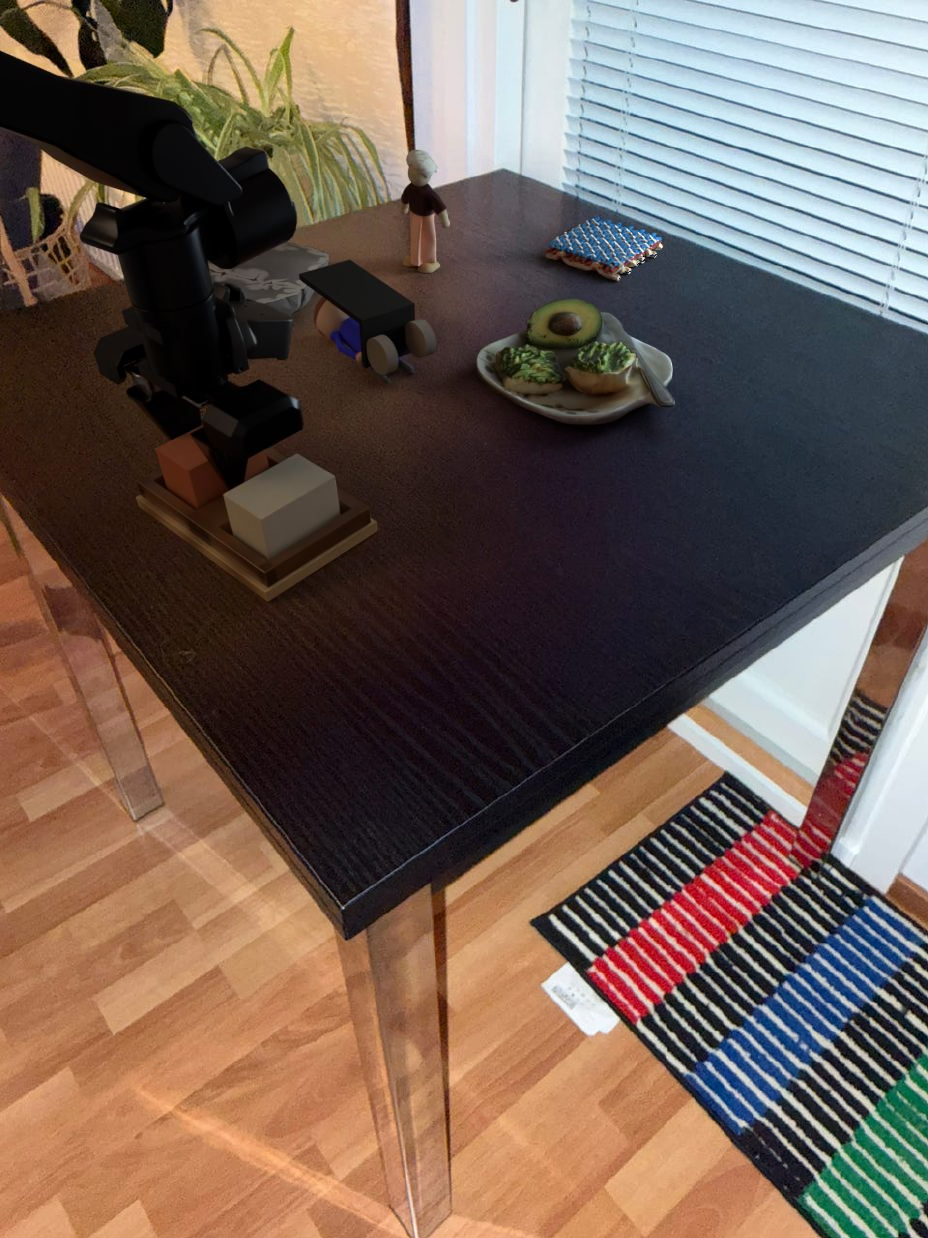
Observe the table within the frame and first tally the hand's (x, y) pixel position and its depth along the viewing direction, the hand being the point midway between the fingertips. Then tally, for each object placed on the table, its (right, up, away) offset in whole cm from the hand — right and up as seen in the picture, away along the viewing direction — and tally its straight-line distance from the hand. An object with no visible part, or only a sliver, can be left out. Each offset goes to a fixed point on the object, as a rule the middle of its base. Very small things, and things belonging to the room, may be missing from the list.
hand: (217, 477), depth 75 cm
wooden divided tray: (+3, -3, -1) cm, 5 cm away
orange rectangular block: (0, -1, +1) cm, 1 cm away
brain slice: (-5, +23, +27) cm, 36 cm away
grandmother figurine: (+15, +29, +32) cm, 46 cm away
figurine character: (+11, +14, +17) cm, 25 cm away
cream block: (+6, -5, -4) cm, 9 cm away
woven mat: (+36, +31, +34) cm, 58 cm away
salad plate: (+30, +12, +14) cm, 36 cm away
